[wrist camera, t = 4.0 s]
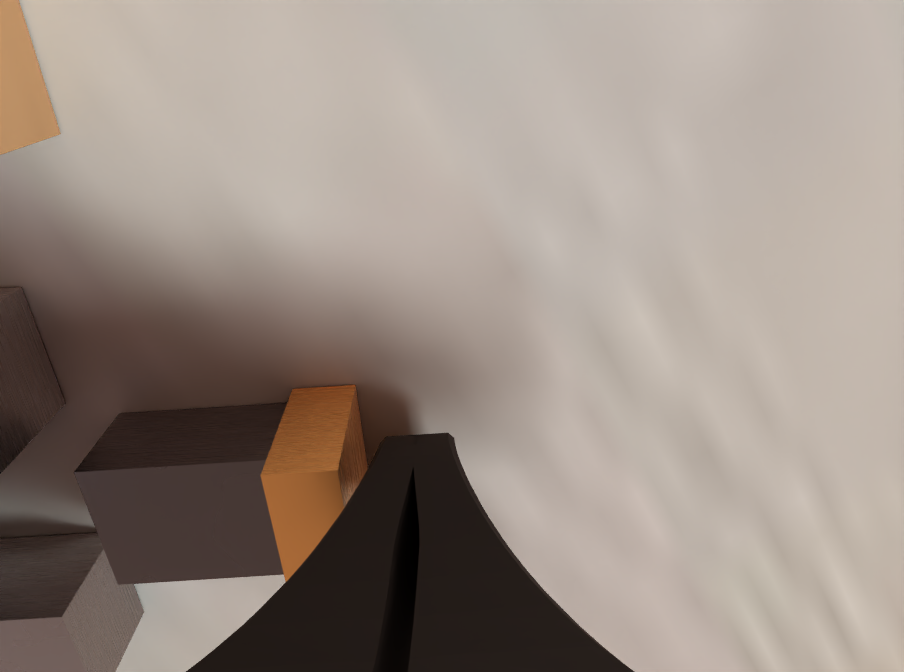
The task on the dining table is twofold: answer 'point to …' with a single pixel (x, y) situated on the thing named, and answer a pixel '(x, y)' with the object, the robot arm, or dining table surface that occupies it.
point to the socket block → (50, 557)
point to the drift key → (223, 486)
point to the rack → (21, 85)
